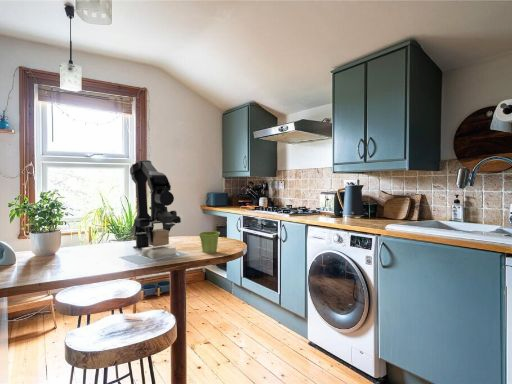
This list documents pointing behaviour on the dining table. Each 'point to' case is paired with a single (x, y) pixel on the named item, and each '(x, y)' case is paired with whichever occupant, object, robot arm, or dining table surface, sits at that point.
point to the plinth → (158, 251)
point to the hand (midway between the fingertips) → (158, 241)
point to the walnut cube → (160, 237)
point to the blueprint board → (143, 259)
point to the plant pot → (209, 241)
